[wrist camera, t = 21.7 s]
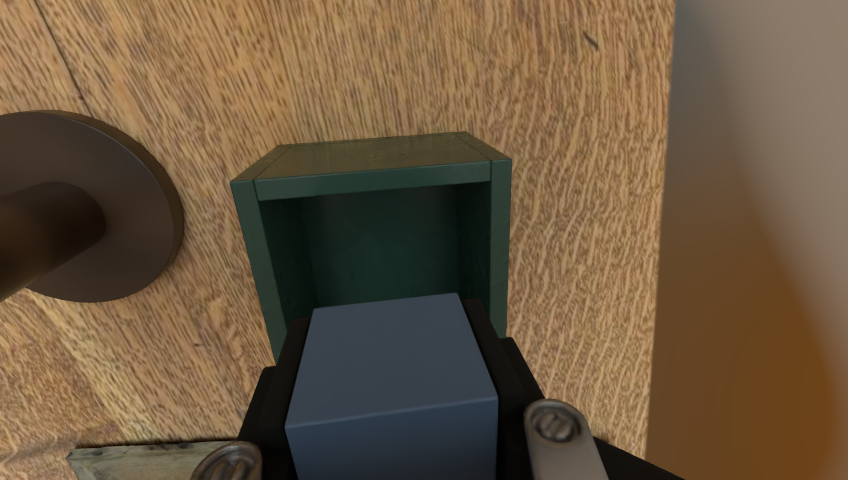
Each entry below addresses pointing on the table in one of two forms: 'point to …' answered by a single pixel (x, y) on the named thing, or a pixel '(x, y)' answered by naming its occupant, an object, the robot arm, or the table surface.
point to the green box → (376, 224)
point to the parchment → (140, 461)
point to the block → (393, 395)
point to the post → (81, 209)
